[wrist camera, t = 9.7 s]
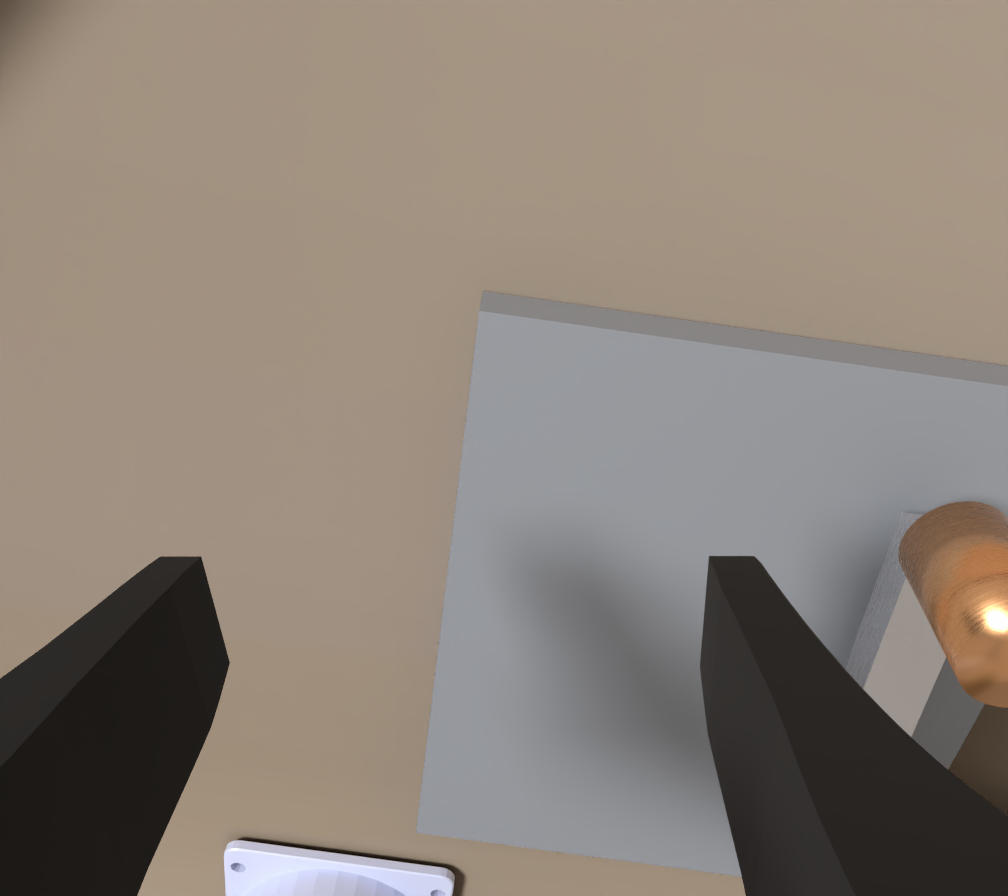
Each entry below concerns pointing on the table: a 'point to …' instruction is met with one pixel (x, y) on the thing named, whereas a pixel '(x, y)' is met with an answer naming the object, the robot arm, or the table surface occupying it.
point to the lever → (937, 611)
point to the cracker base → (666, 555)
